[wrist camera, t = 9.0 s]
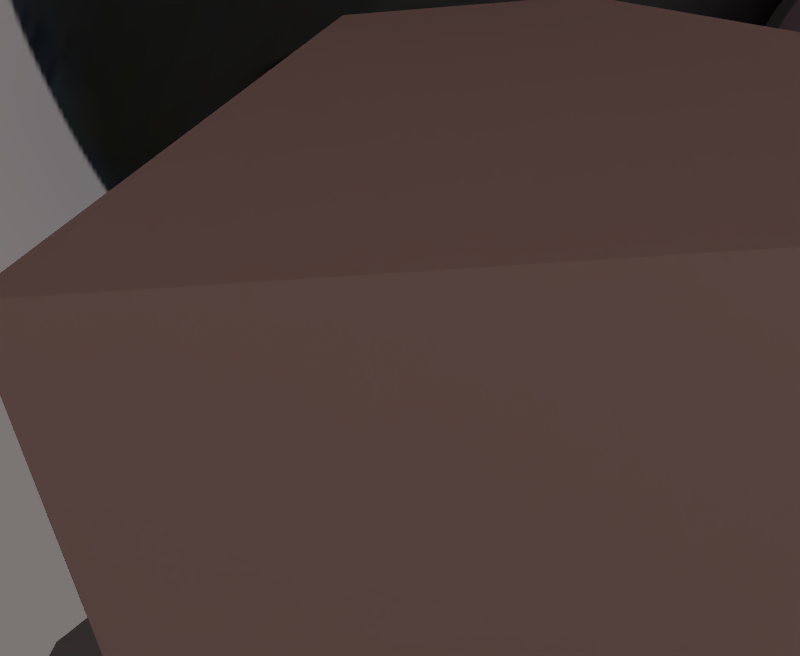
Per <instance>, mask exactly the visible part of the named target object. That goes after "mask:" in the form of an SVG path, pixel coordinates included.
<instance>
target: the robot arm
mask: <svg viewBox="0 0 800 656" xmlns="http://www.w3.org/2000/svg"><path fill="white" fill-rule="evenodd" d="M50 656H103V655H102V653H101V650H100V648H99V645H98V643H97V640H96V638H95V635H94V632H93V630H92V627H91V625H90V622H89V620H88V618H87V619H85V620H84V621H83V622H82V623H80V624H79V625H78V626H76V627H75V628H74V629H73V630H71V631H70V632H69V633H68V634H67V635H65V636H64V637H63V638H61V639H60V640H59V641H57V642H56V644H55V646H54V648H53V650H52V652H51V654H50Z"/></svg>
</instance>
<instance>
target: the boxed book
mask: <svg viewBox="0 0 800 656" xmlns="http://www.w3.org/2000/svg"><path fill="white" fill-rule="evenodd" d="M0 395H1V398H2V401H3V403H4V406H5V408H6V411H7V413H8V416H9V418H10V421H11V423H12V426H13V429H14V431H15V434H16V436H17V438H18V441H19V444H20V446H21V449H22V451H23V454H24V457H25V459H26V462H27V464H28V467H29V469H30V472H31V474H32V477H33V479H34V482H35V485H36V487H37V490H38V492H39V495H40V497H41V500H42V502H43V505H44V507H45V510H46V513H47V515H48V518H49V520H50V523H51V525H52V528H53V531H54V533H55V535H56V538H57V541H58V543H59V546H60V548H61V551H62V553H63V556H64V558H65V561H66V564H67V566H68V569H69V571H70V573H71V576H72V579H73V582H74V584H75V587H76V589H77V591H78V594H79V597H80V599H81V602H82V604H83V607H84V610H85V612H86V614H87V617H88V620H89V622H90V625H91V627H92V630H93V632H94V635H95V638H96V640H97V643H98V645H99V648H100V650H101V653H102V655H103V656H800V32H795V31H789V30H784V29H778V28H772V27H766V26H760V25H755V24H749V23H743V22H737V21H731V20H726V19H720V18H714V17H708V16H702V15H697V14H691V13H685V12H679V11H673V10H668V9H662V8H656V7H650V6H644V5H639V4H633V3H627V2H621V1H615V0H525V1H513V2H500V3H488V4H476V5H463V6H451V7H439V8H426V9H414V10H402V11H389V12H377V13H365V14H353V15H343V16H341V17H340V18H339V19H337V20H336V21H335V22H333V23H332V24H331V25H329V26H328V27H327V28H325V29H324V30H323V31H321V32H320V33H319V34H317V35H316V36H315V37H313V38H312V39H311V40H309V41H308V42H307V43H305V44H304V45H303V46H301V47H300V48H299V49H297V50H296V51H295V52H293V53H292V54H291V55H289V56H288V57H287V58H285V59H284V60H283V61H281V62H280V63H279V64H277V65H276V66H275V67H273V68H272V69H271V70H269V71H268V72H267V73H265V74H264V75H263V76H261V77H260V78H259V79H258V80H256V81H255V82H254V83H252V84H251V85H250V86H248V87H247V88H246V89H244V90H243V91H242V92H240V93H239V94H238V95H236V96H235V97H234V98H232V99H231V100H230V101H228V102H227V103H226V104H224V105H223V106H222V107H220V108H219V109H218V110H216V111H215V112H214V113H212V114H211V115H210V116H208V117H207V118H206V119H204V120H203V121H202V122H200V123H199V124H198V125H196V126H195V127H194V128H192V129H191V130H190V131H188V132H187V133H186V134H184V135H183V136H182V137H180V138H179V139H178V140H176V141H175V142H174V143H172V144H171V145H170V146H169V147H167V148H166V149H165V150H163V151H162V152H161V153H159V154H158V155H157V156H155V157H154V158H153V159H151V160H150V161H149V162H147V163H146V164H145V165H143V166H142V167H141V168H139V169H138V170H137V171H135V172H134V173H133V174H131V175H130V176H129V177H127V178H126V179H125V180H123V181H122V182H121V183H119V184H118V185H117V186H115V187H114V188H113V189H111V190H110V191H109V192H107V193H106V194H105V195H103V196H102V197H101V198H99V199H98V200H97V201H95V202H94V203H93V204H91V205H90V206H89V207H88V208H86V209H85V210H84V211H82V212H81V213H80V214H78V215H77V216H76V217H74V218H73V219H72V220H70V221H69V222H68V223H66V224H65V225H64V226H62V227H61V228H60V229H58V230H57V231H56V232H54V233H53V234H52V235H50V236H49V237H48V238H46V239H45V240H44V241H42V242H41V243H40V244H38V245H37V246H36V247H34V248H33V249H32V250H30V251H29V252H28V253H26V254H25V255H24V256H22V257H21V258H20V259H18V260H17V261H16V262H15V263H13V264H12V265H10V266H9V267H8V268H7V269H5V270H4V271H2V272H1V273H0Z"/></svg>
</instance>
